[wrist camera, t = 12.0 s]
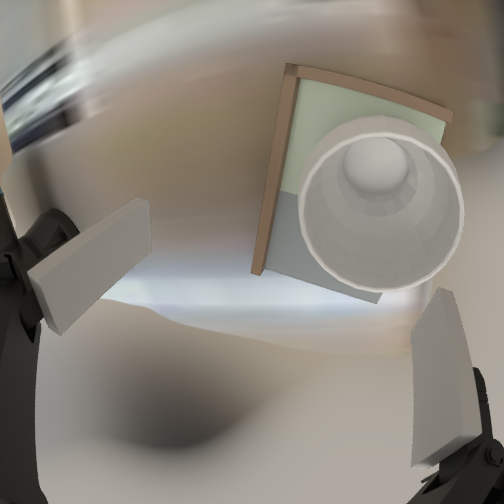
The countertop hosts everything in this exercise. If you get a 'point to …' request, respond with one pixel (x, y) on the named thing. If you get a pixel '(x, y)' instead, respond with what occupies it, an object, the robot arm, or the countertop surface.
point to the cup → (380, 204)
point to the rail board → (300, 147)
